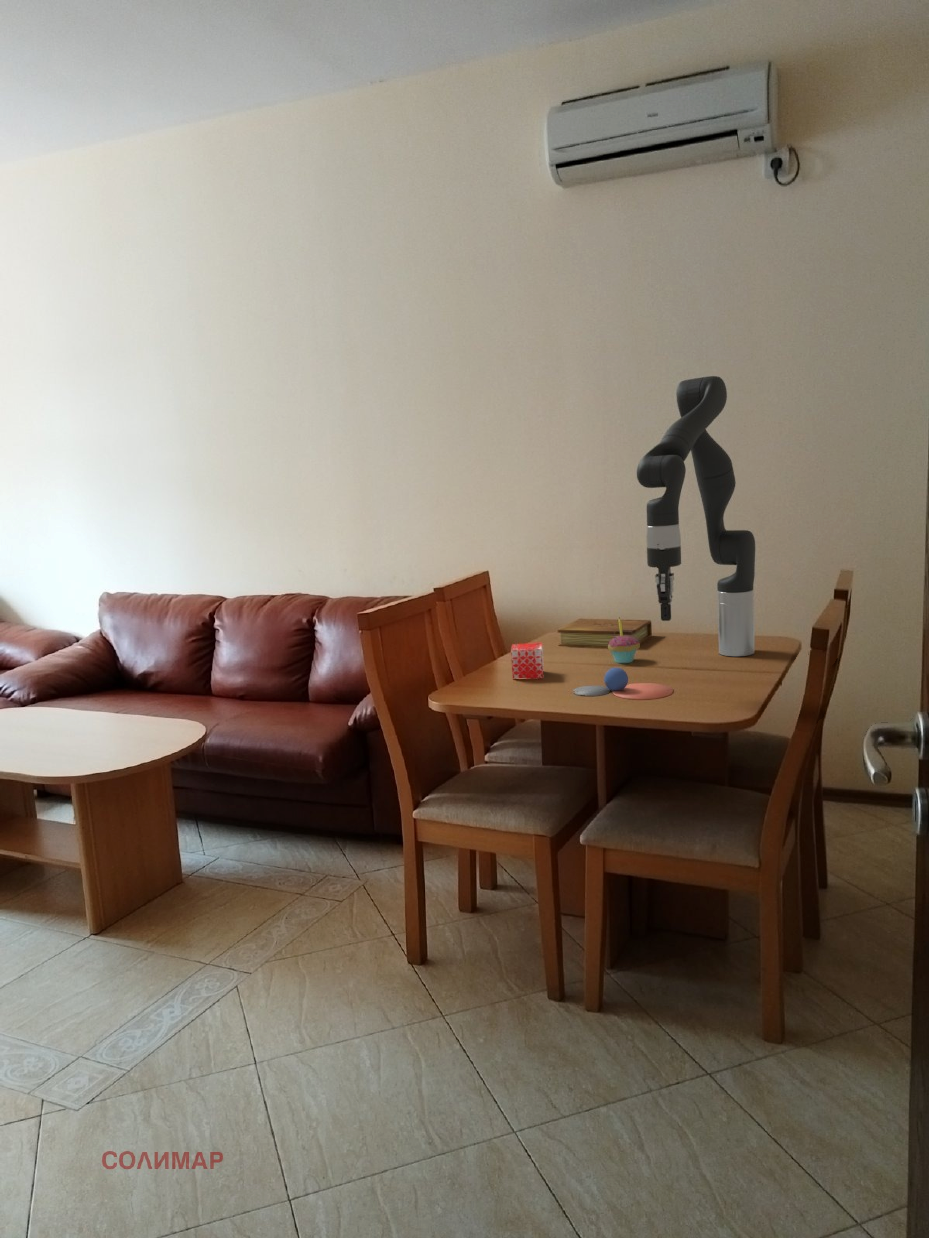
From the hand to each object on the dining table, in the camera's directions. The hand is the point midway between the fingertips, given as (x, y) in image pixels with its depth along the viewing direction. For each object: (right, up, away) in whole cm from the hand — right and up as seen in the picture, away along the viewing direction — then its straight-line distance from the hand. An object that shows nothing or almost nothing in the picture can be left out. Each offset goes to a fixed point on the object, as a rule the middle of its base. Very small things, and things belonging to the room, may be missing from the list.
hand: (666, 620), depth 200 cm
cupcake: (-3, -11, +36) cm, 38 cm away
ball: (-10, -14, +7) cm, 19 cm away
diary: (-4, -7, +64) cm, 65 cm away
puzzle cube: (-30, -15, +28) cm, 44 cm away
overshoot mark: (-16, -17, +8) cm, 25 cm away
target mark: (-4, -17, +5) cm, 18 cm away
